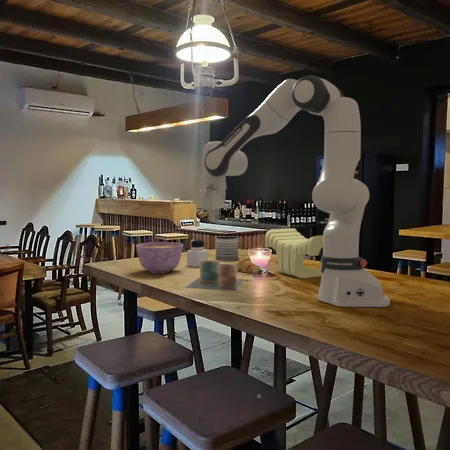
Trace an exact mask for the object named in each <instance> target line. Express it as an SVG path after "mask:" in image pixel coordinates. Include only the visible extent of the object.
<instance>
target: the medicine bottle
mask: <svg viewBox="0 0 450 450" xmlns="http://www.w3.org/2000/svg"><path fill="white" fill-rule="evenodd" d="M200 260H209V250H208V249H205V241H204V240H203V239H192V240H191V241H190V249H189V250H187V251H186V266H187V267H192V268H193V267H194V268H200Z"/></svg>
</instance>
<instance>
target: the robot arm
mask: <svg viewBox="0 0 450 450" xmlns="http://www.w3.org/2000/svg"><path fill="white" fill-rule="evenodd" d="M359 108H360V107H359V105H358V103H357V101H356V100H355V99H354V98H351V97H346V96H344V94H343V92H342V90H341V89H340V88H339V87H338V86H337V85H335V84H333V83H331V82H330V81H328V79H324V78H322V77H318V76H316V75H305V76H302V77H300V78H298V80H297V79H293V78H287V79H285V80H284V81H283V82H281V83H280V84H279V85H277V87H275V88H274V90H272V92H271V93H270V94H269V95H268V96H267V97H266V98H265V100H264V101H263V102H262V103H261V104H260V105H259V106H258V107H257V108H256V109H255V110H254V111H253V112H252V113H250V114H249V115H248V116H246V117H245V118H244V119H243V120H242V121H241V122H240V123H239V124H238V125H237V126H235V128H234V129H232V131H231V132H229V134H228V135H227V136H226V137H225V138H224V139H223V140H222V141H220V140H216V141H210V142H208V143H206V144H205V145H204V146H203V150H202V168H203V169H202V170H203V172H202V190H203V193H202V194H203V195H202V209H203V211H208V215H209V222H212V223H213V222H217V221H219V215H220V210H221V209H224V208H225V205H226V204H225V203H226V195H227V194H226V190H227V189H228V184H227V182H226V181H227V179H226V176H227V177H236V176H242V175H243V174H244V173H246V171H247V169H248V167H249V159H248V156H247V154H246V153H245V152H244V151H241V149H243V147H244V146H245V145H246V144H247V143H249V141H251V140H253V139H255V138H259V137H263V136H268V135H274V134H276V133H278V132H279V131H280V130H282V129H283V128H284V127H286V126H287V125H288V124H289V122H290V121H291V120H292V118H294V117H295V115H296V114H297V113H299V112H300V111H301V110H303V112H304V111H305V112H308V113H310V114H312V115H316V116H321V117H322V119H323V121H324V122H323V123H324V145H323V146H324V147H323V148H324V149H323V162H322V167H321V171H320V176H319V178H318V181H317V183H316V184H315V185H314V187H313V190H312V193H311V198H312V202H313V205H314V206H315V207H316V208H317V209H318V210H319V211H322V212H324V213H328V214H329V217H328V221H327V224H326V226H325V228H324V230H323V234H322V235H323V247H322V255H321V257H320V270H321V272H322V276H320V277H321V278H320V284H319V290H318V294H317V296H316V299H317V300H318V301H320V302H323V303H327V304H331V305H333V306H336V307H345V308H346V307H354V308H356V307H357V308H358V307H359V308H363V307H364V308H365V307H367V308H368V307H369V308H370V307H371V308H373V307H374V308H386V307H389V306H391V299H390V298H389V297H388V296H387V295H385V294H384V290H383V289H384V288H383V285H382V283H381V281H380V280H379V279H378V278H376V277H375V276H374V275H373V274H371V273H370V272H369V271H368V270H367V269H366V268H365V267H366V266H367V265H368V261H367V260H366V259H364V258H363V257H360V256H359V252H360V251H359V250H360V249H359V245H360V244H359V243H360V242H359V241H360V231H361V225H362V221H363V217H364V212H365V208H366V205H367V204H368V203H369V200H370V191H369V188H368V187H367V186H368V185H366V184H365V183H363V182H362V181H360V180H358V179H356V178H354V177H355V172H356V169H357V165H358V163H359V161H360V160H361V149H362V148H361V147H362V144H361V143H362V142H361V140H362V139H361V138H362V135H361V133H362V132H361V131H362V130H361V129H362V126H361V115H360V109H359Z"/></svg>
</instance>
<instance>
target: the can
mask: <svg viewBox="0 0 450 450" xmlns="http://www.w3.org/2000/svg"><path fill="white" fill-rule="evenodd" d="M215 260H217V261H223V262H232V261H237V260H238V261H239V236H235V235H234V236H233V235H231V236H228V235H227V236H222V235H221V236H220V235H219V236H215Z"/></svg>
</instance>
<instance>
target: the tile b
mask: <svg viewBox="0 0 450 450" xmlns="http://www.w3.org/2000/svg"><path fill="white" fill-rule="evenodd" d="M237 271H238V269H237V263H236V264H233V263H230V264H229V263H219V287H233V288H236V280H237ZM236 289H237V288H236Z"/></svg>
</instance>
